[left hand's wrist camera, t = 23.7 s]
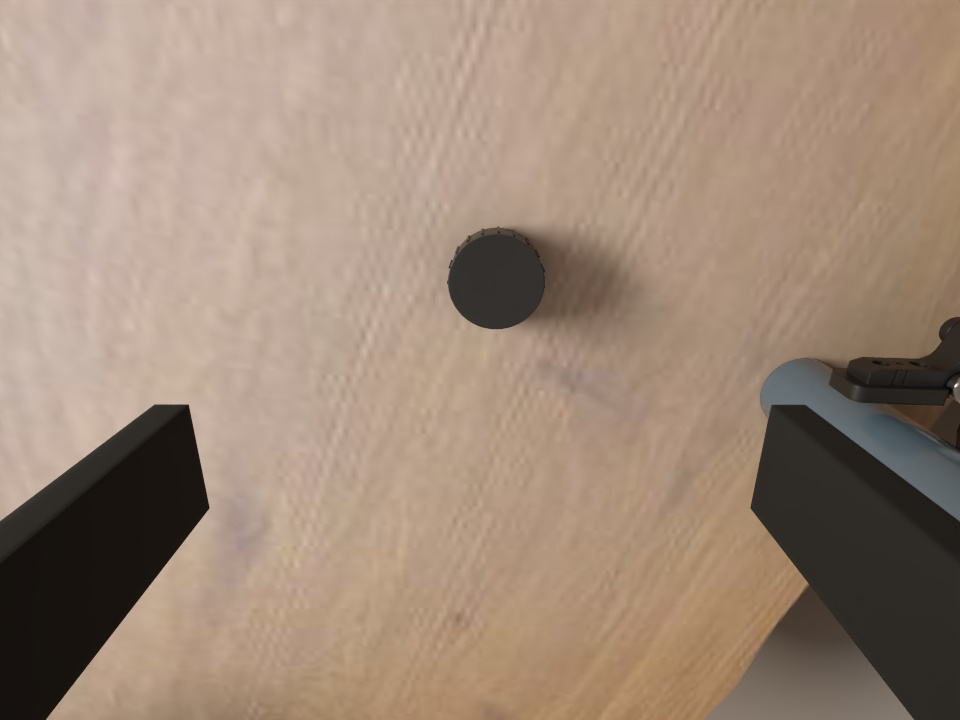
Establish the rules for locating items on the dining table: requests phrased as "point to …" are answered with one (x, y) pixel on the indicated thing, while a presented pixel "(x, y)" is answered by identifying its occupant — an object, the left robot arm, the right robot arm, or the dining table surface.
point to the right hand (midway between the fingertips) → (822, 452)
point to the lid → (496, 278)
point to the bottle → (872, 430)
